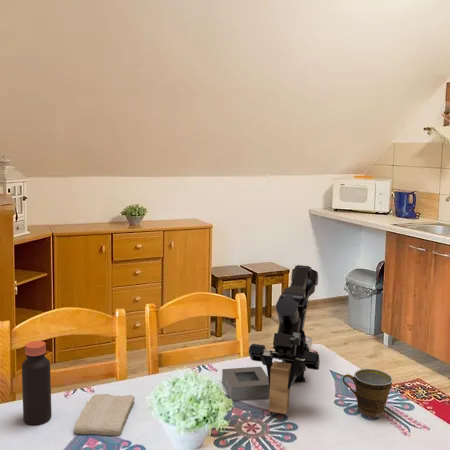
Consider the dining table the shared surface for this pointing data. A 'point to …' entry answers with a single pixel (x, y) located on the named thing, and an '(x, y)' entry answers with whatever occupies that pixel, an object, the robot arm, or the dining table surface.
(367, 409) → the ceramic cup
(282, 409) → the oak peg
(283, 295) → the robot arm
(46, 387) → the bottle
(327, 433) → the dining table surface
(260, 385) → the socket block
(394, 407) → the dining table surface
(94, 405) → the washcloth
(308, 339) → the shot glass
